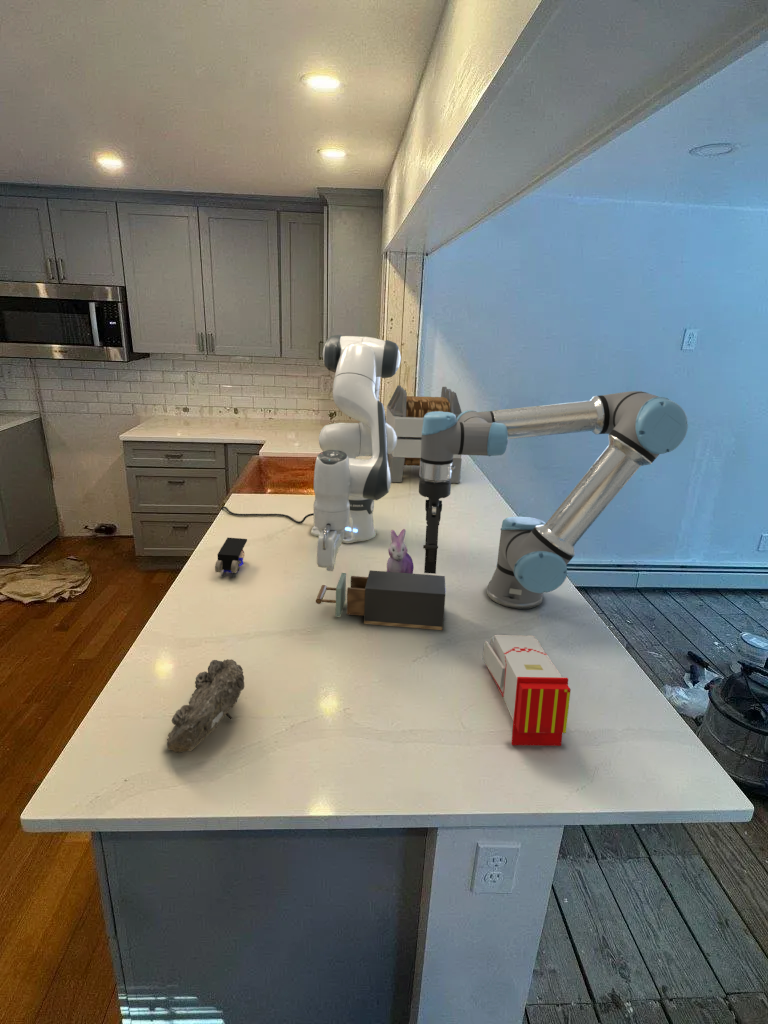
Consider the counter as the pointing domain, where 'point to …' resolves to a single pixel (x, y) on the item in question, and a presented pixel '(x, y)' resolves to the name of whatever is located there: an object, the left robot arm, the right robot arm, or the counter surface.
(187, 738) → the fossil
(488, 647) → the toy
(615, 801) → the counter surface
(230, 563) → the black wheeled block
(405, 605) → the cabinet
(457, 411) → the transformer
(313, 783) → the counter surface
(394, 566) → the figurine
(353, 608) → the drawer
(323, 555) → the left robot arm
